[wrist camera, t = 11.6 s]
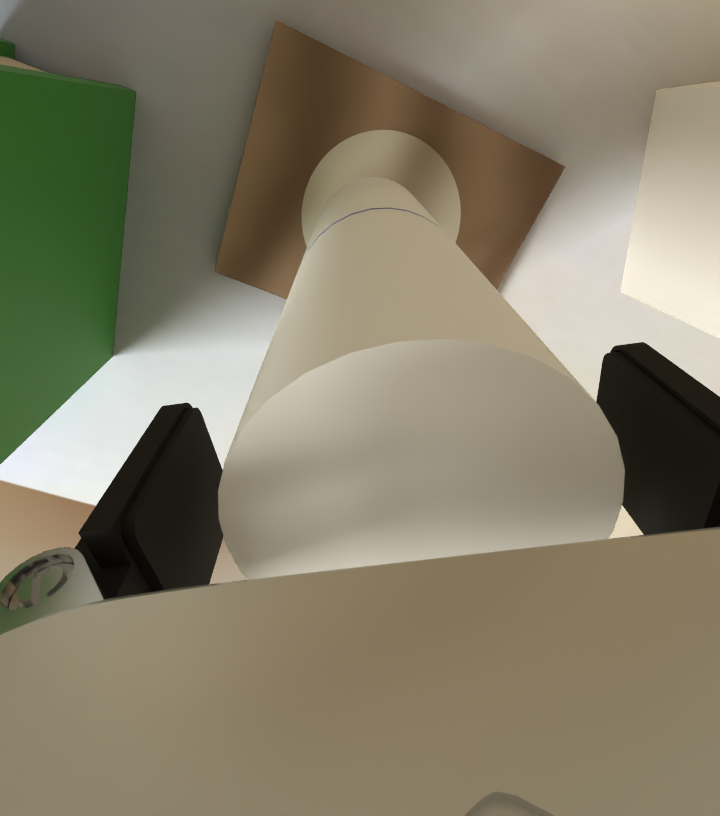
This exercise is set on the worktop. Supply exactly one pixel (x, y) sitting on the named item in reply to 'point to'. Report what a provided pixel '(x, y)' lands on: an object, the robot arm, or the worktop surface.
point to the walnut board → (368, 164)
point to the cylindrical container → (408, 411)
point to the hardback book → (57, 236)
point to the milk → (679, 209)
